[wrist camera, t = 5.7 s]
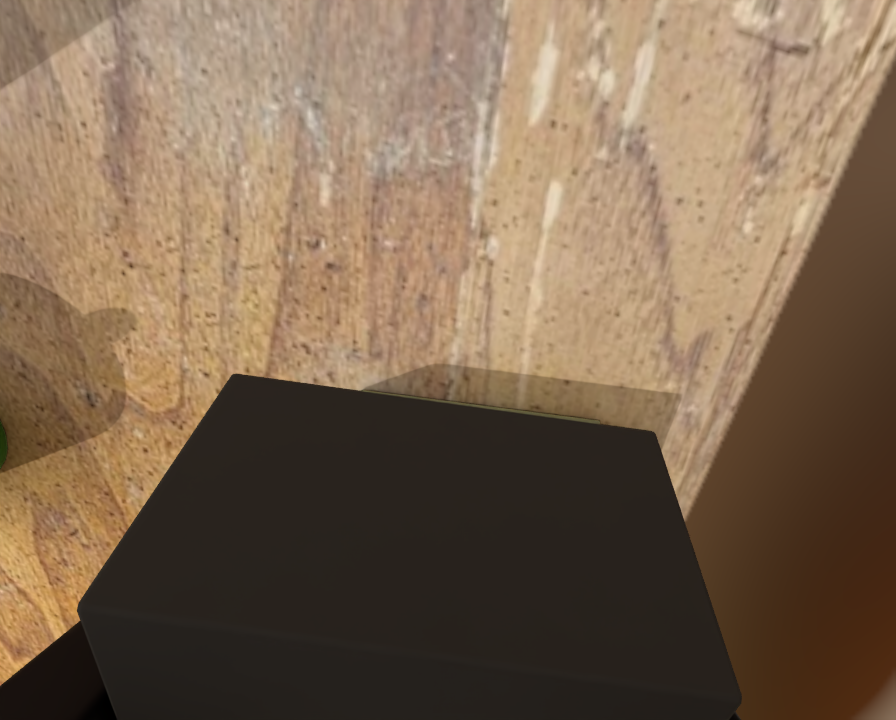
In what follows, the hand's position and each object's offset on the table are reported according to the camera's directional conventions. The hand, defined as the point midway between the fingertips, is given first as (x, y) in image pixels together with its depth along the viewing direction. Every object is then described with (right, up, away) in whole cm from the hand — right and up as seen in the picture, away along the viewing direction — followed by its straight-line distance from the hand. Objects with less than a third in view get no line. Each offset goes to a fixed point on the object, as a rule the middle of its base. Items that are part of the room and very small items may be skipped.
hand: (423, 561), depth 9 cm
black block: (0, 0, 0) cm, 0 cm away
